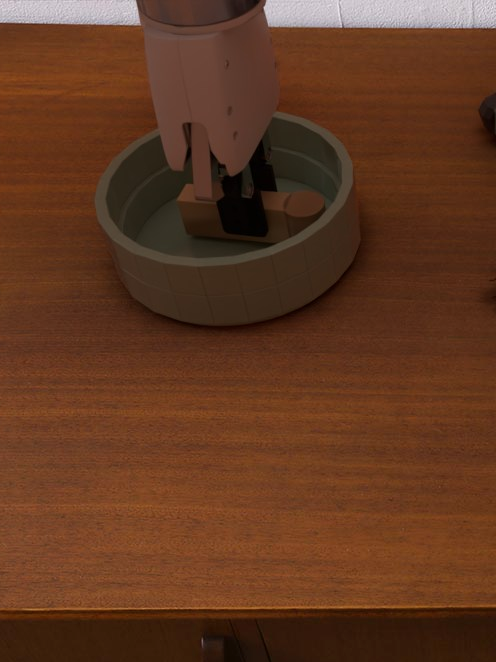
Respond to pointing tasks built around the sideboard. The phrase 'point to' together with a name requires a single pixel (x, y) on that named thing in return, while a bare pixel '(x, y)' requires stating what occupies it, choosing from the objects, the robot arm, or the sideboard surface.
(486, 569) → the sideboard surface
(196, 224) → the round-ended wooden block
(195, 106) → the robot arm
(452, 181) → the sideboard surface
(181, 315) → the bowl
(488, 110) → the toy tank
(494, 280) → the insect
